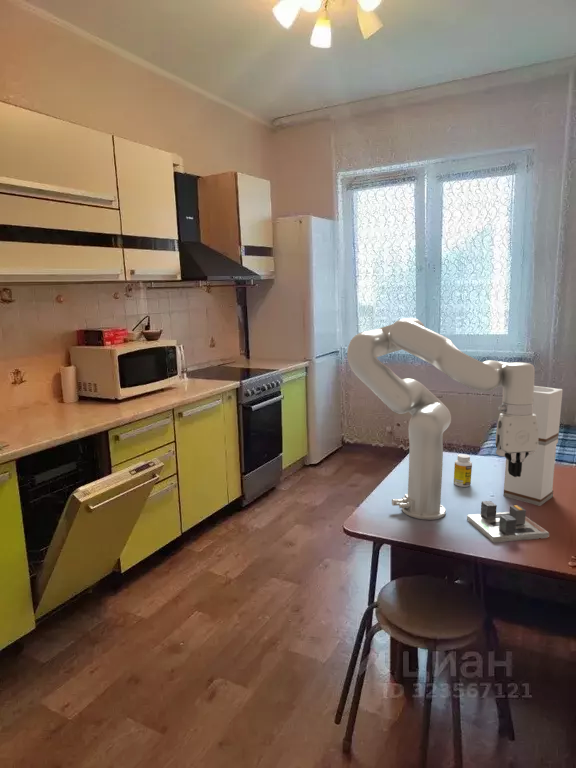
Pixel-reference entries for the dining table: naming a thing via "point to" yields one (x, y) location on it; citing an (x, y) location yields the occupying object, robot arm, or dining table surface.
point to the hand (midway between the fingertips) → (514, 475)
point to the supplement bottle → (462, 471)
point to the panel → (506, 537)
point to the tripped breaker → (518, 514)
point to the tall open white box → (538, 452)
